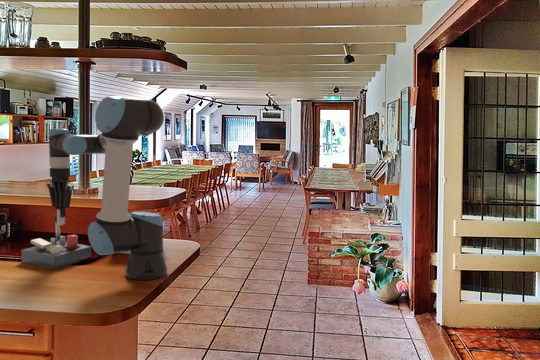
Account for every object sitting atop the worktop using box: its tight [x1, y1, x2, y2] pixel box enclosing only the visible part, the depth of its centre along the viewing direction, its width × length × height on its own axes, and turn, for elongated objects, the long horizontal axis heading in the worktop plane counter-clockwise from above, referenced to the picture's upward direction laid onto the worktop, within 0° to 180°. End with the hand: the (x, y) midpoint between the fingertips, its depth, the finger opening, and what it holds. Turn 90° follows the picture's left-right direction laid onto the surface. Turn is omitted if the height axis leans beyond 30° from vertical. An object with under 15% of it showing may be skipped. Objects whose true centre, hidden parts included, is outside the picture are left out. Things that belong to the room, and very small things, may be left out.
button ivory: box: [50, 245, 61, 254], centre depth 182 cm, size 4×4×5 cm
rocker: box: [30, 237, 52, 248], centre depth 185 cm, size 7×4×1 cm, turn 65°
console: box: [20, 235, 92, 271], centre depth 187 cm, size 18×18×8 cm
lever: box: [53, 215, 61, 241], centre depth 191 cm, size 3×3×10 cm
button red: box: [66, 234, 79, 249], centre depth 188 cm, size 4×4×5 cm
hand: (61, 224), depth 191 cm, fingers closed
